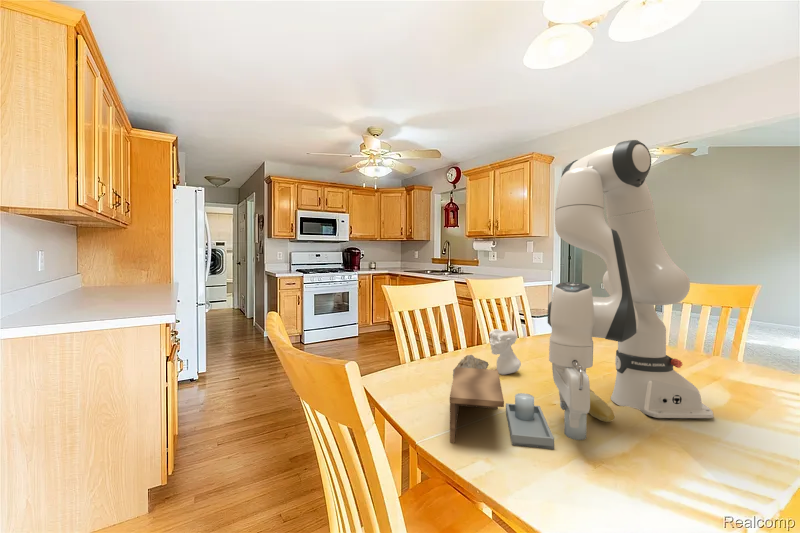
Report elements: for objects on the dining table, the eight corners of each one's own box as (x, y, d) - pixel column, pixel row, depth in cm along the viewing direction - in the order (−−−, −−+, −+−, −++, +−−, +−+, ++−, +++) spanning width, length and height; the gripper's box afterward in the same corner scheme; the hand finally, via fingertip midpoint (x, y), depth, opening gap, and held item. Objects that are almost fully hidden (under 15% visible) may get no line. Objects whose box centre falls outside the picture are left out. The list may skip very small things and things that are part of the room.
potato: (575, 405, 97) (576, 386, 97) (596, 406, 96) (597, 387, 96) (594, 429, 83) (594, 407, 83) (619, 430, 82) (619, 409, 82)
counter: (497, 407, 95) (497, 369, 95) (503, 450, 74) (503, 401, 74) (455, 404, 98) (455, 367, 97) (449, 444, 76) (449, 397, 76)
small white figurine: (526, 376, 121) (526, 331, 121) (500, 381, 116) (500, 334, 116) (505, 368, 130) (506, 327, 130) (480, 372, 125) (481, 329, 125)
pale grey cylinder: (532, 414, 90) (532, 394, 90) (535, 421, 86) (535, 400, 85) (514, 412, 91) (514, 392, 91) (516, 420, 86) (516, 399, 86)
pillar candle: (583, 431, 82) (583, 409, 82) (589, 440, 78) (589, 417, 78) (562, 429, 83) (562, 408, 83) (567, 438, 78) (567, 416, 78)
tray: (539, 414, 91) (539, 406, 91) (554, 449, 74) (554, 438, 74) (505, 411, 93) (505, 403, 92) (512, 445, 76) (512, 434, 76)
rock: (462, 385, 104) (468, 351, 108) (448, 384, 110) (454, 351, 113) (493, 395, 109) (498, 361, 113) (479, 393, 115) (483, 361, 118)
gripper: (600, 369, 70) (597, 441, 70) (575, 346, 90) (573, 402, 90) (564, 366, 71) (562, 436, 71) (548, 344, 91) (546, 399, 91)
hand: (568, 417), depth 81 cm, fingers open, 8 cm apart
